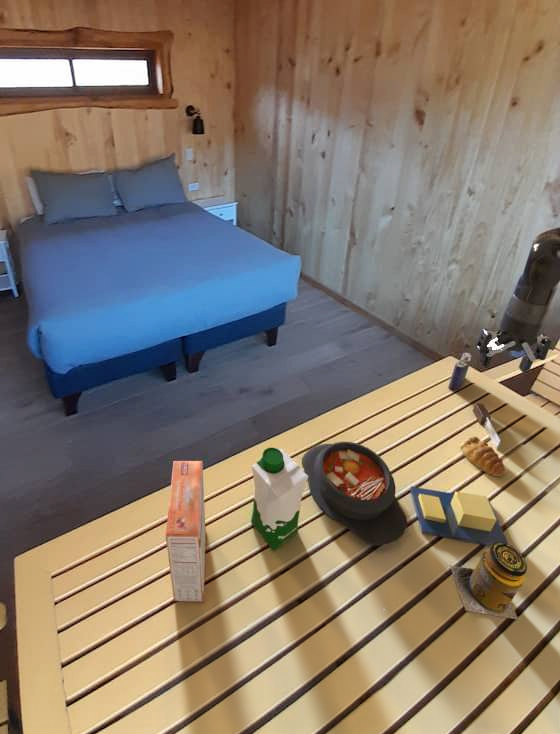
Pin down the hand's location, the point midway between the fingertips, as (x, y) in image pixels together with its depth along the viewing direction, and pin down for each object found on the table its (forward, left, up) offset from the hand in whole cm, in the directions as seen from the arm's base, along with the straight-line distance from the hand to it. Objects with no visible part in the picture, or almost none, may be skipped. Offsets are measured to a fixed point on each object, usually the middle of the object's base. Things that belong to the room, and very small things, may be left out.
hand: (503, 368), depth 101 cm
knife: (0, +3, -18) cm, 18 cm away
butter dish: (+15, +30, -18) cm, 39 cm away
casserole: (+38, +30, -18) cm, 51 cm away
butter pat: (+19, +31, -16) cm, 40 cm away
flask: (+2, -14, -18) cm, 23 cm away
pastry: (+5, +13, -18) cm, 23 cm away
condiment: (+16, +44, -18) cm, 51 cm away
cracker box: (+70, +50, -18) cm, 88 cm away
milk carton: (+54, +40, -18) cm, 70 cm away
